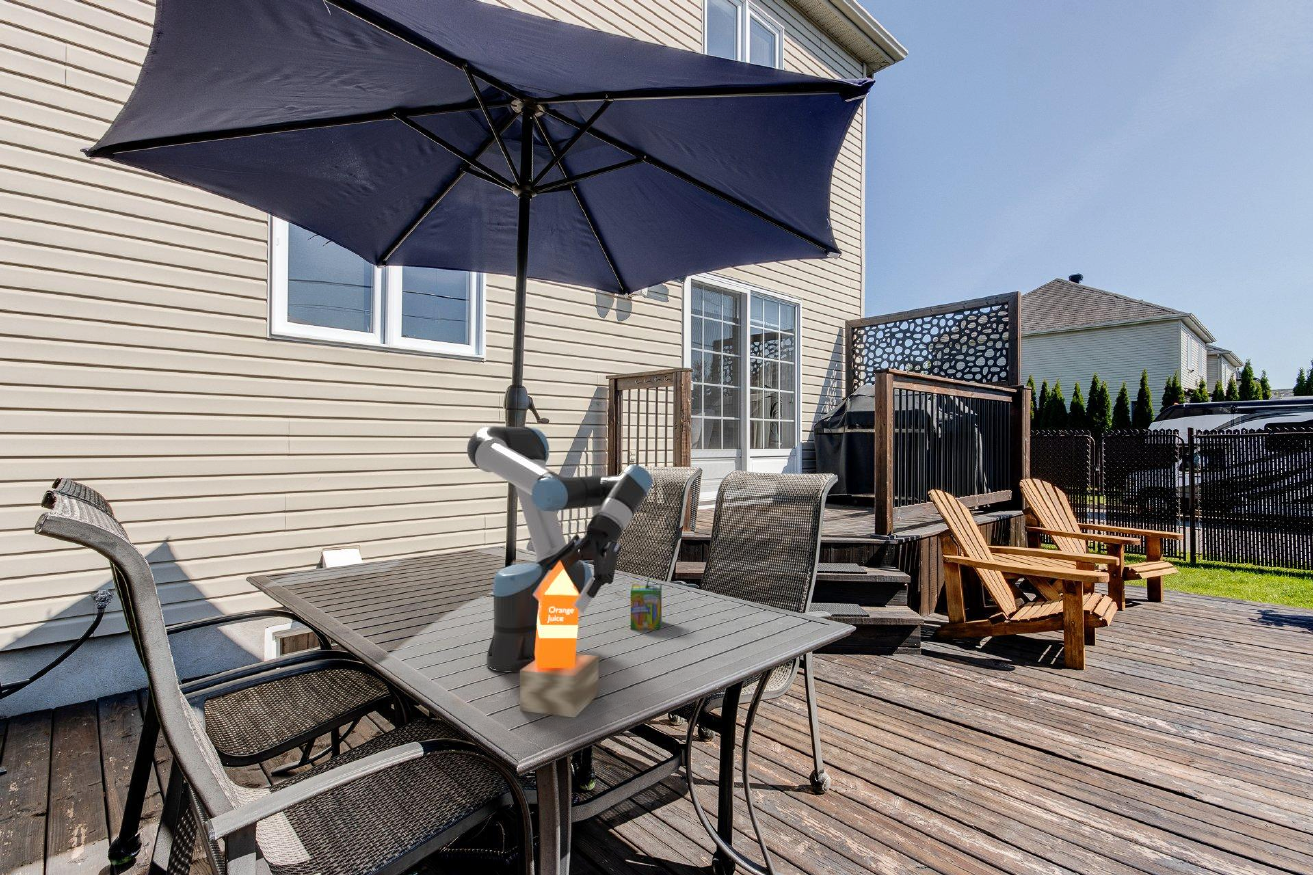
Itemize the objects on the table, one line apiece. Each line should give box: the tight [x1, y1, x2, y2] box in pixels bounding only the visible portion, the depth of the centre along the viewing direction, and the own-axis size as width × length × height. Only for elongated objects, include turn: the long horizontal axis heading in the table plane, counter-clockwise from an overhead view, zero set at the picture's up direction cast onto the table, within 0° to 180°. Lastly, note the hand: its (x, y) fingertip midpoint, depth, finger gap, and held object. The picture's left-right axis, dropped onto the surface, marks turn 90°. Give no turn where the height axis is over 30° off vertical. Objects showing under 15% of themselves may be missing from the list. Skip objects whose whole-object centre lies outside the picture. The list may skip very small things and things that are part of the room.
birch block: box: [519, 653, 600, 718], centre depth 124 cm, size 12×12×8 cm
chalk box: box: [630, 574, 663, 630], centre depth 178 cm, size 9×9×15 cm
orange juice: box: [535, 561, 580, 668], centre depth 125 cm, size 8×9×20 cm
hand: (556, 603), depth 123 cm, fingers open, 13 cm apart
